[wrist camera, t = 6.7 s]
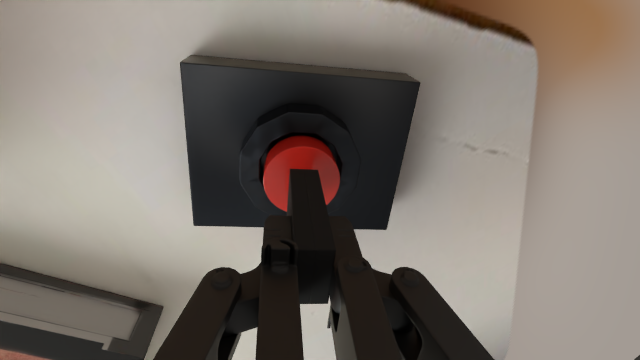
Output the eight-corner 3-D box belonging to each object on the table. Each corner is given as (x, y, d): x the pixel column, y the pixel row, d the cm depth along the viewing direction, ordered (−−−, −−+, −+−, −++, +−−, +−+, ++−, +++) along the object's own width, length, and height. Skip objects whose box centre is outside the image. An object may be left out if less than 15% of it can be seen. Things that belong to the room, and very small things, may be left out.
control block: (406, 73, 23) (432, 89, 19) (377, 210, 28) (393, 245, 24) (190, 54, 21) (170, 68, 17) (201, 205, 26) (187, 242, 22)
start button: (339, 137, 21) (344, 148, 19) (331, 200, 23) (335, 215, 21) (265, 132, 20) (263, 144, 18) (263, 198, 22) (262, 213, 20)
